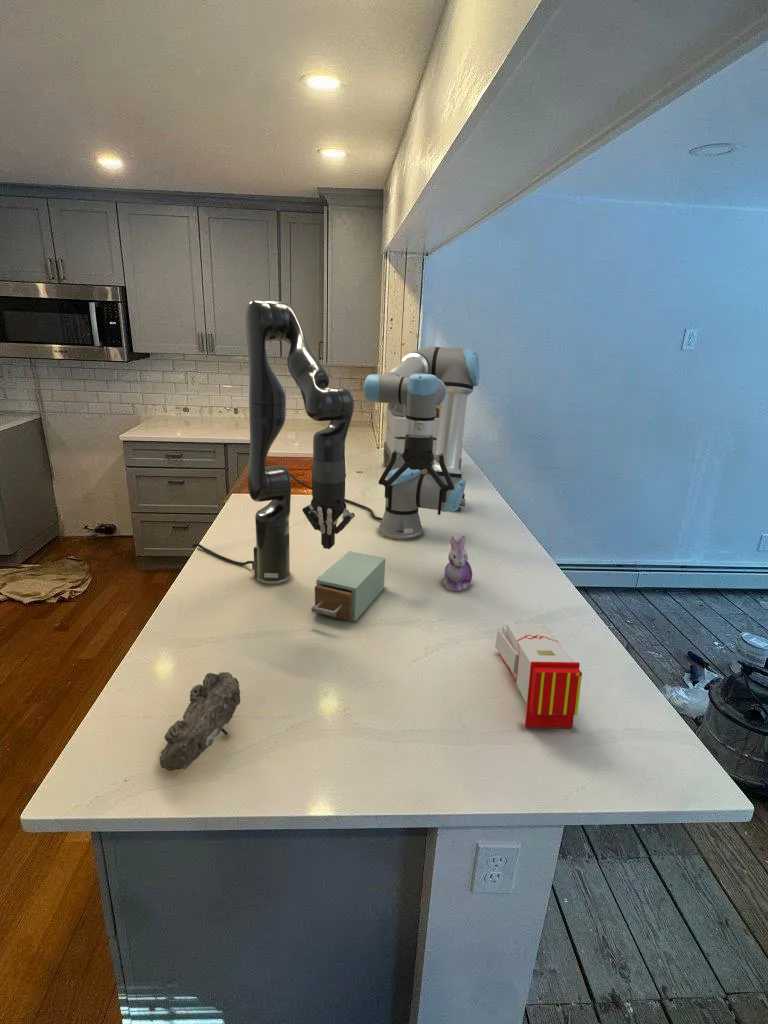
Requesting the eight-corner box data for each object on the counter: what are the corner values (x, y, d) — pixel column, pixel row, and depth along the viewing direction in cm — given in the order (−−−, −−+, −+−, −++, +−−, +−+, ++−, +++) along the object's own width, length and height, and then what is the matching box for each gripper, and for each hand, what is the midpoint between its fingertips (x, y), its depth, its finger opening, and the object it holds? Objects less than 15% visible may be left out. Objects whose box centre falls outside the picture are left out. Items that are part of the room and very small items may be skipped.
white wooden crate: (382, 463, 289) (386, 382, 275) (445, 464, 293) (451, 384, 279) (390, 482, 257) (394, 392, 243) (460, 483, 261) (468, 394, 247)
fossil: (187, 673, 113) (240, 640, 108) (220, 704, 116) (274, 673, 111) (134, 764, 94) (196, 730, 89) (175, 799, 97) (237, 767, 92)
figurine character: (465, 515, 224) (460, 499, 237) (467, 498, 221) (462, 483, 234) (448, 515, 224) (444, 499, 237) (450, 498, 220) (445, 482, 234)
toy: (542, 608, 134) (591, 669, 104) (537, 660, 136) (583, 734, 107) (491, 607, 133) (526, 668, 104) (487, 660, 136) (520, 733, 107)
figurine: (453, 595, 158) (458, 546, 153) (434, 580, 167) (437, 532, 161) (481, 589, 162) (486, 541, 157) (460, 574, 171) (465, 528, 166)
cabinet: (355, 621, 143) (356, 588, 140) (316, 611, 147) (316, 579, 144) (384, 588, 161) (385, 557, 158) (348, 580, 164) (349, 550, 161)
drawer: (340, 631, 137) (341, 604, 134) (304, 622, 140) (304, 595, 137) (377, 589, 158) (378, 565, 155) (345, 582, 161) (346, 558, 158)
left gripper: (294, 477, 127) (295, 548, 133) (348, 485, 122) (346, 558, 128) (310, 469, 133) (310, 537, 139) (362, 477, 129) (360, 547, 135)
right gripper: (370, 434, 146) (367, 511, 153) (467, 441, 144) (460, 519, 151) (374, 428, 153) (371, 503, 160) (467, 435, 151) (459, 510, 158)
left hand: (328, 547), depth 134 cm, fingers closed
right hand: (414, 511), depth 156 cm, fingers open, 13 cm apart
